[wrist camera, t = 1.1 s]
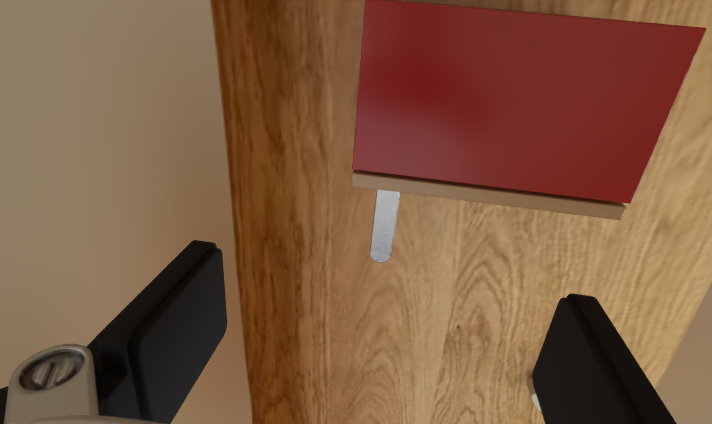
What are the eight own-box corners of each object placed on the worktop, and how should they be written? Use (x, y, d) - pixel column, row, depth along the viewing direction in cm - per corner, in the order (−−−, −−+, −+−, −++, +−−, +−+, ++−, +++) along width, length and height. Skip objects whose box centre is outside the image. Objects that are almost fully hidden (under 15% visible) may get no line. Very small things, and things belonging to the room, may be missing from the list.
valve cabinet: (544, 121, 34) (630, 204, 20) (378, 103, 36) (352, 169, 22) (575, 15, 31) (707, 28, 17) (389, -1, 32) (365, -2, 18)
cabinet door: (521, 199, 38) (581, 314, 24) (370, 180, 39) (343, 279, 25) (543, 124, 34) (627, 207, 21) (378, 106, 36) (352, 173, 22)
